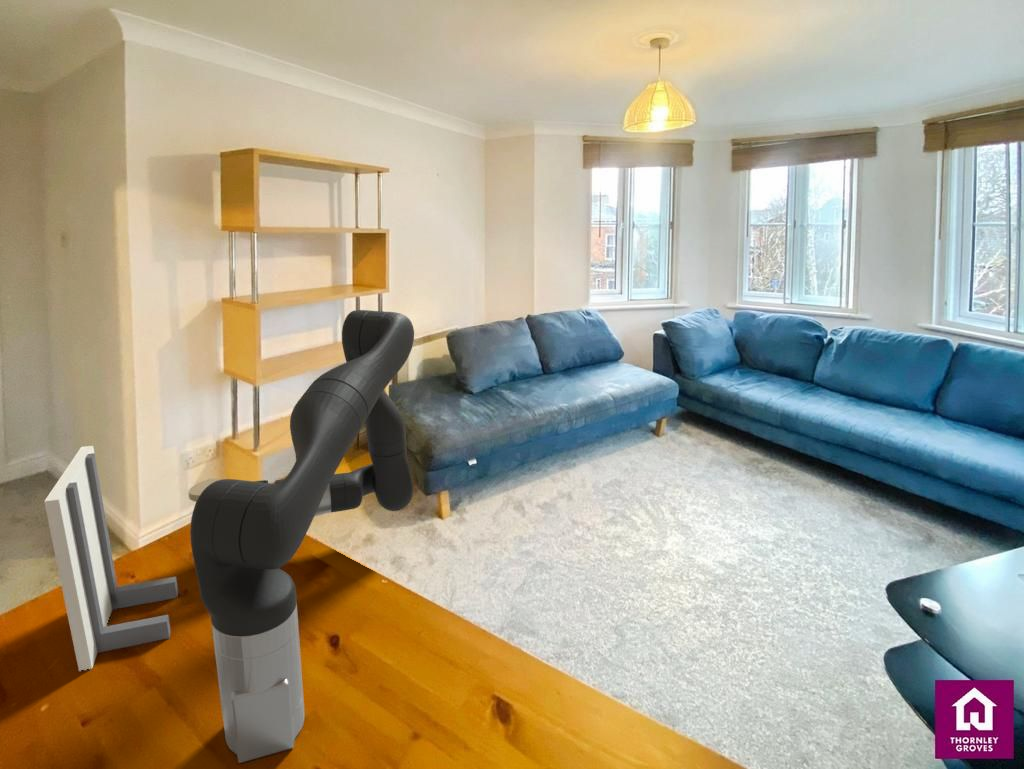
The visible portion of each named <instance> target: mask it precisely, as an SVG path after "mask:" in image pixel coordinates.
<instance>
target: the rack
mask: <svg viewBox="0 0 1024 769" xmlns="http://www.w3.org/2000/svg"><path fill="white" fill-rule="evenodd" d="M96 459H97V458H96V454H95V449H94V445H86V446H81V447H80V448H79V449H78V451H77V452H76V454H75V456H74V457H73V458H72V460H71V462H70V463H69V464H68V466H67V467H66V468H65V470H64V472H63V473H62V474H61V476H60V478H59V479H58V480H57V482H56V483H55V485H54V486H53V488H52V489H51V491H50V492H49V494H48V495H47V497H46V498H45V499H44V505H45V506H44V507H45V511H46V512H45V513H46V517H47V522H48V526H49V532H50V537H51V540H52V541H51V542H52V545H53V546H52V547H53V551H54V556H55V560H56V566H57V571H58V575H59V579H60V580H59V581H60V585H61V590H62V594H63V595H62V596H63V600H64V606H65V609H66V613H67V614H66V615H67V620H68V624H69V628H70V635H71V639H72V643H73V644H72V645H73V647H74V648H73V649H74V653H75V654H74V655H75V658H76V663H77V667H78V672H82V671H81V670H84V671H88V670H87V669H89V670H92V669H93V666H94V664H95V662H96V658H97V655H98V654H99V653H104V652H109V651H113V650H119V649H123V648H124V649H125V648H129V647H134V646H138V645H143V643H144V644H148V642H149V643H153V641H154V642H158V641H157V640H159V641H163V639H164V640H168V639H170V637H171V625H170V617H169V614H164V615H159V616H154V617H149V618H143V619H137V620H133V621H126V622H123V623H117V624H112V625H108V624H109V621H108V620H110V618H109V617H111V614H112V612H113V610H118V608H119V609H122V608H123V609H125V608H128V607H134V606H140V605H145V604H146V605H147V604H150V603H152V604H153V603H156V602H157V603H158V602H161V601H167V600H172V599H173V600H174V599H177V598H178V596H179V595H178V594H179V588H178V582H177V581H178V580H177V576H173V577H172V576H170V577H165V578H160V579H155V580H146V581H142V582H135V583H129V584H125V585H118V583H117V576H116V575H117V574H116V570H115V565H114V564H115V563H114V559H113V553H112V546H111V541H110V535H109V530H108V525H107V524H108V523H107V518H106V512H105V507H104V502H103V494H102V488H101V483H100V477H99V472H98V467H97V460H96ZM107 623H108V624H107Z"/></svg>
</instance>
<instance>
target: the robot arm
mask: <svg viewBox="0 0 1024 769" xmlns="http://www.w3.org/2000/svg"><path fill="white" fill-rule="evenodd" d="M414 341H415V330H414V325H413V323H412V321H411V320H410V318H409V317H407V316H406V315H405V314H403V313H401V312H394V311H381V310H369V309H367V310H366V309H356V310H352V311H350V312H349V313H348V314H347V315H346V317H345V319H344V321H343V324H342V329H341V343H342V345H341V346H342V348H343V349H342V350H343V354H344V357H345V361H346V362H345V363H342V364H340V365H337V366H335V367H332V368H331V369H329V370H328V371H325V372H324V373H322V374H321V375H319V376H318V377H317V378H316V379H315V380H313V382H312V383H311V384H310V385H309V386H308V388H307V389H306V390H305V392H304V393H303V394H302V396H300V398H299V399H298V401H297V402H296V403H295V405H294V407H293V408H292V411H291V414H290V421H289V427H290V428H289V430H290V436H291V442H292V445H293V446H292V447H293V450H294V453H295V454H294V455H295V463H294V465H293V467H292V468H291V470H290V471H289V473H288V474H287V475H286V477H285V478H282V479H276V480H275V481H274V482H273V483H272V482H271V483H270V482H269V481H268V480H265V479H263V480H255V481H252V480H244V479H231V478H223V479H222V480H218V481H215V482H213V483H212V484H210V485H209V486H208V487H206V488H205V489H204V490H203V492H202V493H201V495H200V496H199V498H198V500H197V502H195V504H194V507H193V510H192V514H191V517H190V518H191V519H190V532H189V533H190V534H189V535H190V545H191V546H190V548H191V552H192V557H193V563H194V568H195V574H196V578H197V582H198V588H199V593H200V597H201V598H200V600H201V602H202V604H203V606H204V608H205V609H206V611H207V612H208V613H209V615H210V622H211V629H212V630H211V631H212V638H213V647H214V648H213V649H214V656H215V663H216V670H217V671H216V672H217V681H218V688H219V689H218V690H219V697H220V705H221V715H222V720H223V721H222V722H223V728H224V735H225V736H224V737H225V742H226V745H227V747H228V748H229V749H230V751H231V752H233V753H234V754H235V755H237V762H238V763H239V764H240V763H244V762H248V761H251V760H255V759H259V758H262V757H265V756H270V755H272V754H276V753H280V752H283V751H286V750H290V749H293V748H294V747H295V740H296V738H297V736H298V735H299V733H300V732H301V730H302V728H303V726H304V723H305V702H304V701H305V699H304V688H303V674H302V672H303V671H302V659H301V646H300V632H299V630H300V629H299V616H298V605H297V604H298V603H297V602H298V601H297V591H296V588H297V587H296V584H295V581H294V580H293V578H292V577H291V575H290V574H289V573H287V572H286V571H284V569H281V568H282V567H284V566H285V565H286V564H287V563H288V562H289V561H290V560H291V559H292V558H294V556H295V554H296V553H297V551H298V550H299V548H300V546H301V544H302V543H303V541H304V539H305V537H306V535H307V533H308V531H309V529H310V526H311V525H312V522H313V520H314V518H315V517H319V516H323V515H326V514H330V513H338V512H344V511H345V512H346V511H350V510H355V509H357V508H359V507H360V506H361V505H362V502H363V497H365V496H366V495H369V494H373V493H374V494H375V497H376V500H377V502H378V504H379V505H380V506H381V507H382V508H383V509H385V510H387V511H390V512H399V511H401V510H404V509H405V508H407V506H408V505H409V504H410V502H412V500H413V495H414V484H413V483H414V482H413V478H412V474H411V473H412V472H411V468H410V463H409V459H408V451H407V445H408V444H407V437H406V436H407V435H406V434H407V433H406V426H405V422H404V417H403V416H402V414H401V412H400V410H399V408H398V407H397V405H396V404H395V403H394V401H393V400H392V398H391V397H390V396H389V395H388V393H387V392H386V390H385V389H386V388H387V386H388V385H389V384H390V383H391V382H392V380H393V379H394V377H395V376H396V375H397V374H398V372H400V370H401V369H402V367H403V366H404V365H405V363H406V362H407V360H408V358H409V356H410V354H411V352H412V349H413V345H414ZM364 425H365V433H366V440H367V446H368V448H367V449H368V453H369V458H370V460H371V464H368V465H365V466H362V467H359V468H357V469H355V470H354V469H353V470H352V471H350V472H342V473H336V472H337V469H338V468H339V466H340V465H341V463H342V460H343V459H344V457H345V456H346V454H347V452H348V451H349V449H350V447H351V445H352V444H353V443H354V441H355V440H356V438H357V437H358V435H359V434H360V432H361V430H362V429H363V427H364Z"/></svg>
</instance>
